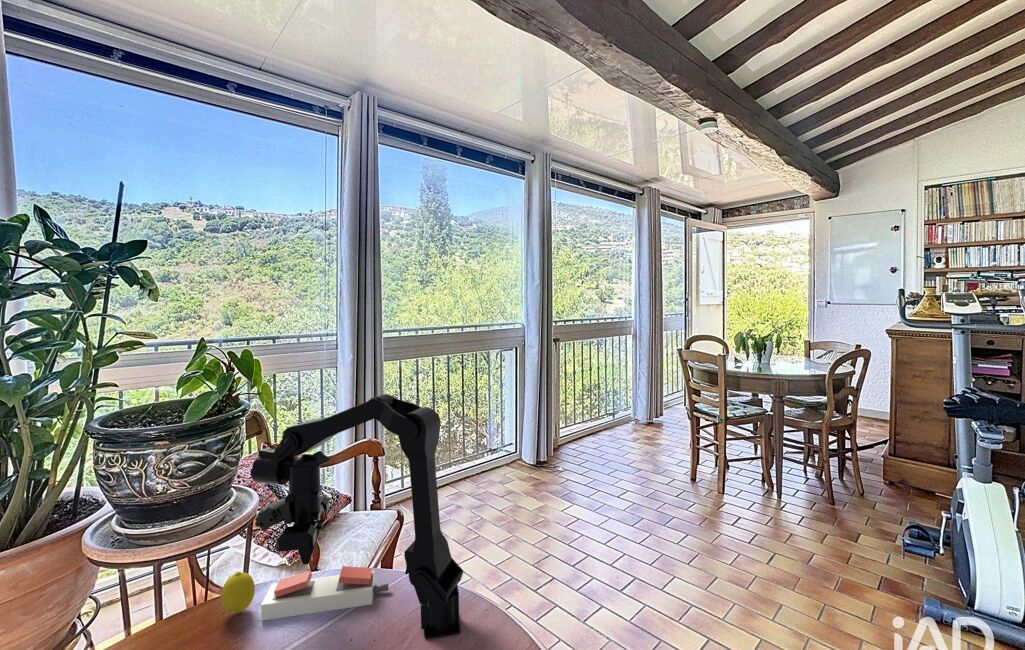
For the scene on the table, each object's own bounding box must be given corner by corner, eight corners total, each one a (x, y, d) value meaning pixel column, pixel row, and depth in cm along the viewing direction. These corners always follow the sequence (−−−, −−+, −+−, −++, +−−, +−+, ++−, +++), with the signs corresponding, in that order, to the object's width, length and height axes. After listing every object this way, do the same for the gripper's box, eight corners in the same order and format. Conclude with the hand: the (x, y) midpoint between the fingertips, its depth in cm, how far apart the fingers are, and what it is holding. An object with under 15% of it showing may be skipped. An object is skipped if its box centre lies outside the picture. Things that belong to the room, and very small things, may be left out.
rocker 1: (312, 575, 93) (310, 570, 93) (307, 586, 89) (306, 581, 89) (281, 585, 92) (279, 580, 91) (275, 597, 88) (273, 591, 88)
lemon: (244, 622, 85) (243, 580, 85) (215, 622, 85) (214, 580, 85) (261, 604, 91) (260, 564, 91) (233, 604, 91) (232, 564, 91)
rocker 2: (371, 573, 95) (372, 568, 95) (369, 584, 92) (370, 578, 92) (341, 571, 94) (342, 566, 94) (338, 582, 90) (339, 576, 90)
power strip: (389, 582, 98) (388, 568, 98) (387, 602, 91) (387, 586, 91) (272, 598, 93) (271, 583, 93) (261, 620, 86) (261, 604, 86)
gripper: (273, 473, 98) (275, 545, 98) (243, 509, 80) (245, 597, 80) (329, 469, 100) (330, 539, 100) (311, 502, 82) (313, 588, 82)
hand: (306, 563), depth 91 cm, fingers closed
